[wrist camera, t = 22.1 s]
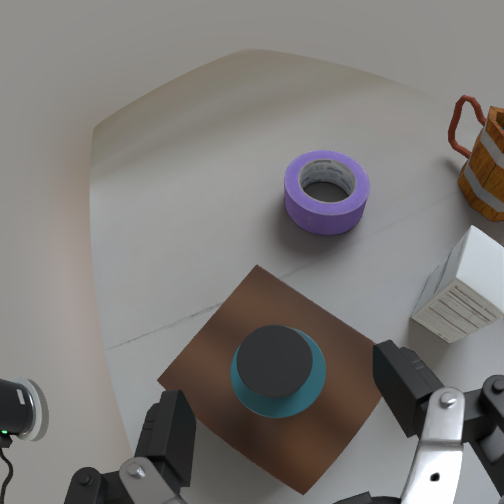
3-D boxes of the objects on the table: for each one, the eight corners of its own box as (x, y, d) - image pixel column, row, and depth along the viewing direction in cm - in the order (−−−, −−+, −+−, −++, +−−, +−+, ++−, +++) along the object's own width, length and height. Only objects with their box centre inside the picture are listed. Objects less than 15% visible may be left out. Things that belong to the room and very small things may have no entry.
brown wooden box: (299, 469, 26) (303, 495, 17) (191, 387, 32) (156, 380, 23) (372, 373, 30) (403, 361, 21) (264, 300, 36) (256, 263, 27)
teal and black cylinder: (253, 418, 21) (220, 435, 10) (240, 354, 24) (200, 312, 13) (322, 403, 21) (355, 405, 10) (306, 339, 24) (321, 284, 13)
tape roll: (342, 250, 38) (349, 229, 34) (269, 212, 42) (266, 190, 38) (374, 192, 42) (381, 170, 38) (308, 163, 46) (309, 140, 42)
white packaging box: (429, 273, 35) (472, 221, 24) (468, 300, 32) (520, 258, 21) (407, 317, 33) (454, 276, 22) (449, 346, 30) (507, 316, 19)
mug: (520, 206, 38) (557, 154, 25) (494, 235, 36) (540, 176, 23) (456, 138, 47) (478, 82, 34) (421, 155, 45) (443, 88, 32)
